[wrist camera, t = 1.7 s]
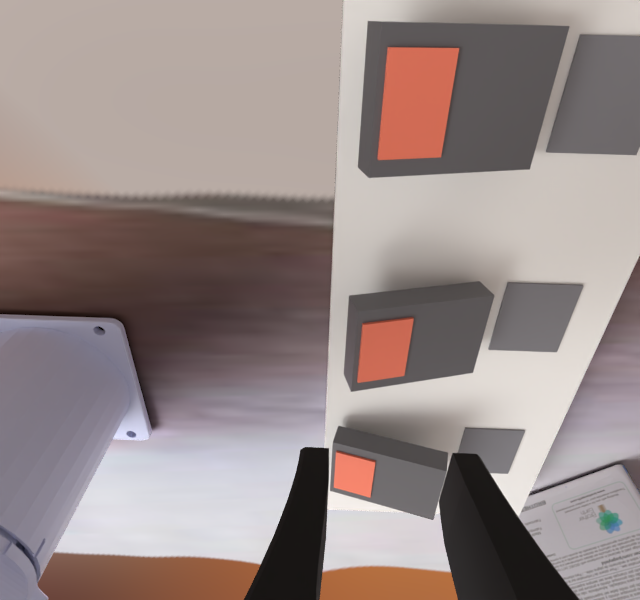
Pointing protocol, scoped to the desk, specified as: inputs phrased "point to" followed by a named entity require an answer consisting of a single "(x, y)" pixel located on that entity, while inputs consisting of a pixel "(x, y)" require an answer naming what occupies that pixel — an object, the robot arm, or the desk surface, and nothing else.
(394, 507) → the rocker far end
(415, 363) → the rocker middle
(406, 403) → the power strip
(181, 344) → the desk surface
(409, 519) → the desk surface
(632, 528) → the ink cartridge box
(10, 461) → the robot arm
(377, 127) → the block
